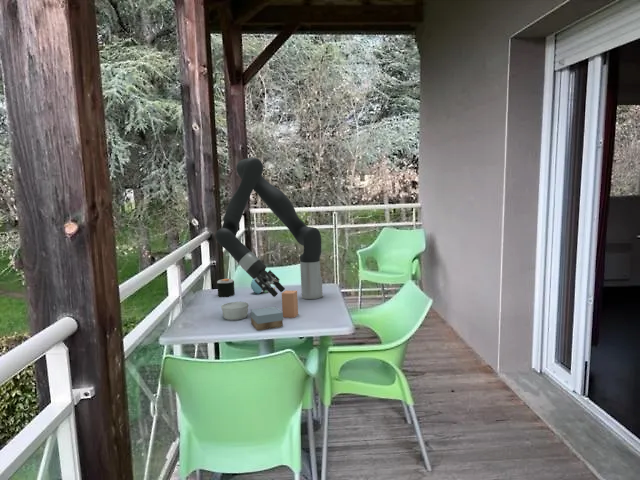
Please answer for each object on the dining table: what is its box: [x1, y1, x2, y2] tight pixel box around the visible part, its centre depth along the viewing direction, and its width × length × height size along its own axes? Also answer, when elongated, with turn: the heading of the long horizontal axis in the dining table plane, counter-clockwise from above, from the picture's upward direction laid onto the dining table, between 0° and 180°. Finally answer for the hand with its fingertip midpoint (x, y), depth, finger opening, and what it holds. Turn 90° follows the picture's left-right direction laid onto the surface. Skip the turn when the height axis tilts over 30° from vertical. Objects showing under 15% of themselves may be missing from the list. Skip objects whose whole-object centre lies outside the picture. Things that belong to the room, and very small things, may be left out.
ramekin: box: [221, 301, 249, 321], centre depth 206 cm, size 11×11×5 cm
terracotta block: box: [281, 290, 299, 319], centre depth 205 cm, size 5×5×10 cm
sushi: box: [216, 278, 235, 298], centre depth 246 cm, size 8×8×8 cm
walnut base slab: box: [250, 317, 284, 331], centre depth 193 cm, size 10×10×3 cm
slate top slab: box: [250, 306, 284, 324], centre depth 193 cm, size 10×10×3 cm
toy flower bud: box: [250, 278, 276, 295], centre depth 249 cm, size 7×9×12 cm
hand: (279, 293), depth 205 cm, fingers open, 8 cm apart
